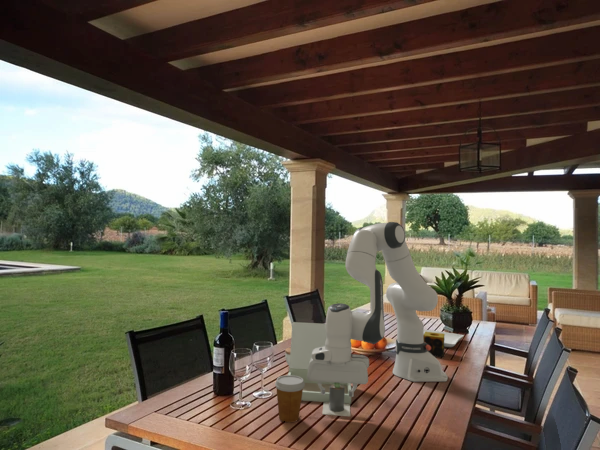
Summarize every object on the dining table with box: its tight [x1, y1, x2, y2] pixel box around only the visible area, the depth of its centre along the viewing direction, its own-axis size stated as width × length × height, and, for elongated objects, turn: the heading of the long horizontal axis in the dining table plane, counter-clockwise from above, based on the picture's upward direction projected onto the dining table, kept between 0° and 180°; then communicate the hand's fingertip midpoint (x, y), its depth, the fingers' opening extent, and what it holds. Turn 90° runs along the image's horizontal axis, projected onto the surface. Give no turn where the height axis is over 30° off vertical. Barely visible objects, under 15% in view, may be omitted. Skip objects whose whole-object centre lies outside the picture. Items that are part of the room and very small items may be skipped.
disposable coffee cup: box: [274, 374, 305, 423], centre depth 127 cm, size 10×10×12 cm
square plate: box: [423, 329, 465, 348], centre depth 230 cm, size 27×27×4 cm
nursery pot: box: [328, 383, 345, 412], centre depth 133 cm, size 5×5×9 cm
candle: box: [423, 332, 445, 358], centre depth 204 cm, size 10×10×10 cm
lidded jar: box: [284, 346, 291, 366], centre depth 177 cm, size 11×11×9 cm
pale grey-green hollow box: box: [287, 321, 352, 405], centre depth 151 cm, size 24×25×23 cm
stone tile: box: [321, 402, 351, 417], centre depth 132 cm, size 9×9×1 cm
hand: (337, 395), depth 133 cm, fingers open, 8 cm apart
